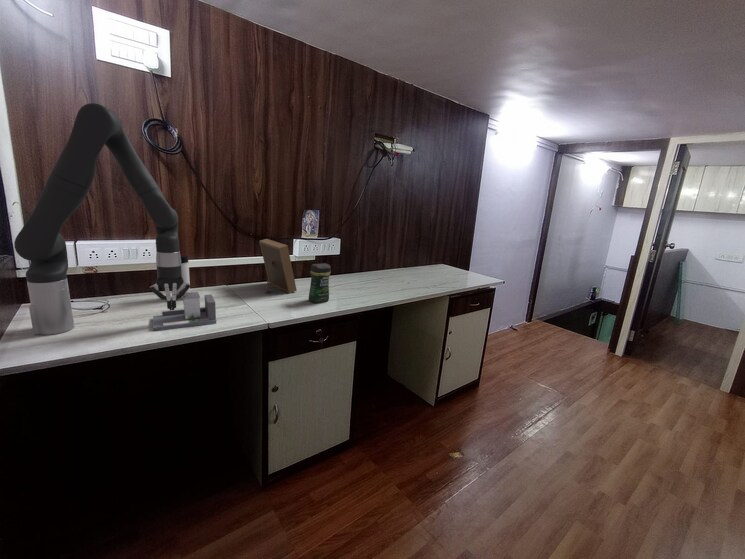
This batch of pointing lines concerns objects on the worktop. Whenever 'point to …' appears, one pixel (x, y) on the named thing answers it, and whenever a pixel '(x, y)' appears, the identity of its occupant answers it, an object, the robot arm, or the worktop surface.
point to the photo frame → (278, 265)
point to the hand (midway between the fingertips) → (172, 309)
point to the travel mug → (184, 274)
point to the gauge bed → (178, 319)
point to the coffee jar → (319, 282)
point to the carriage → (191, 305)
